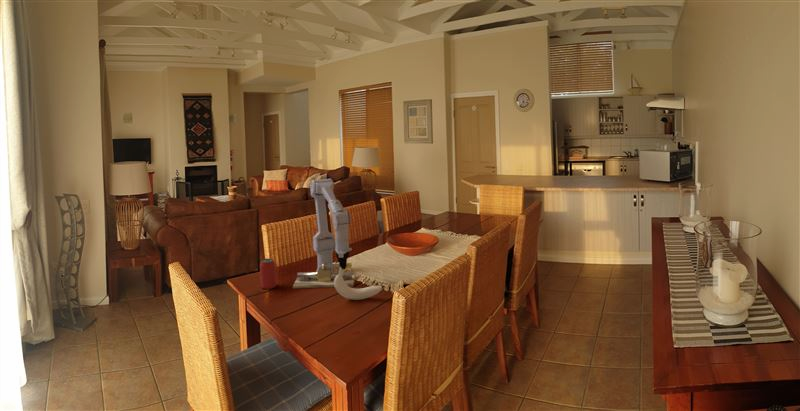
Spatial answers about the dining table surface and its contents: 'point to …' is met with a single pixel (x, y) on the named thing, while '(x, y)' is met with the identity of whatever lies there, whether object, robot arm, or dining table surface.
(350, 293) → the banana
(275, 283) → the beer can
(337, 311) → the dining table surface
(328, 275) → the valve
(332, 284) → the valve board
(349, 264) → the lever
